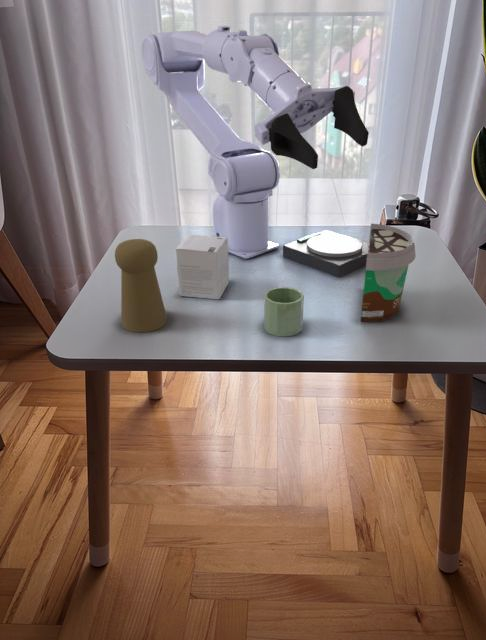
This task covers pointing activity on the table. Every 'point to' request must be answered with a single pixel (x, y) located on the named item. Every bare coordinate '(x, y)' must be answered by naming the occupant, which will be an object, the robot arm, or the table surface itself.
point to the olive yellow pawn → (139, 286)
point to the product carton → (203, 266)
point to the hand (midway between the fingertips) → (340, 150)
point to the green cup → (283, 311)
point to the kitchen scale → (328, 252)
